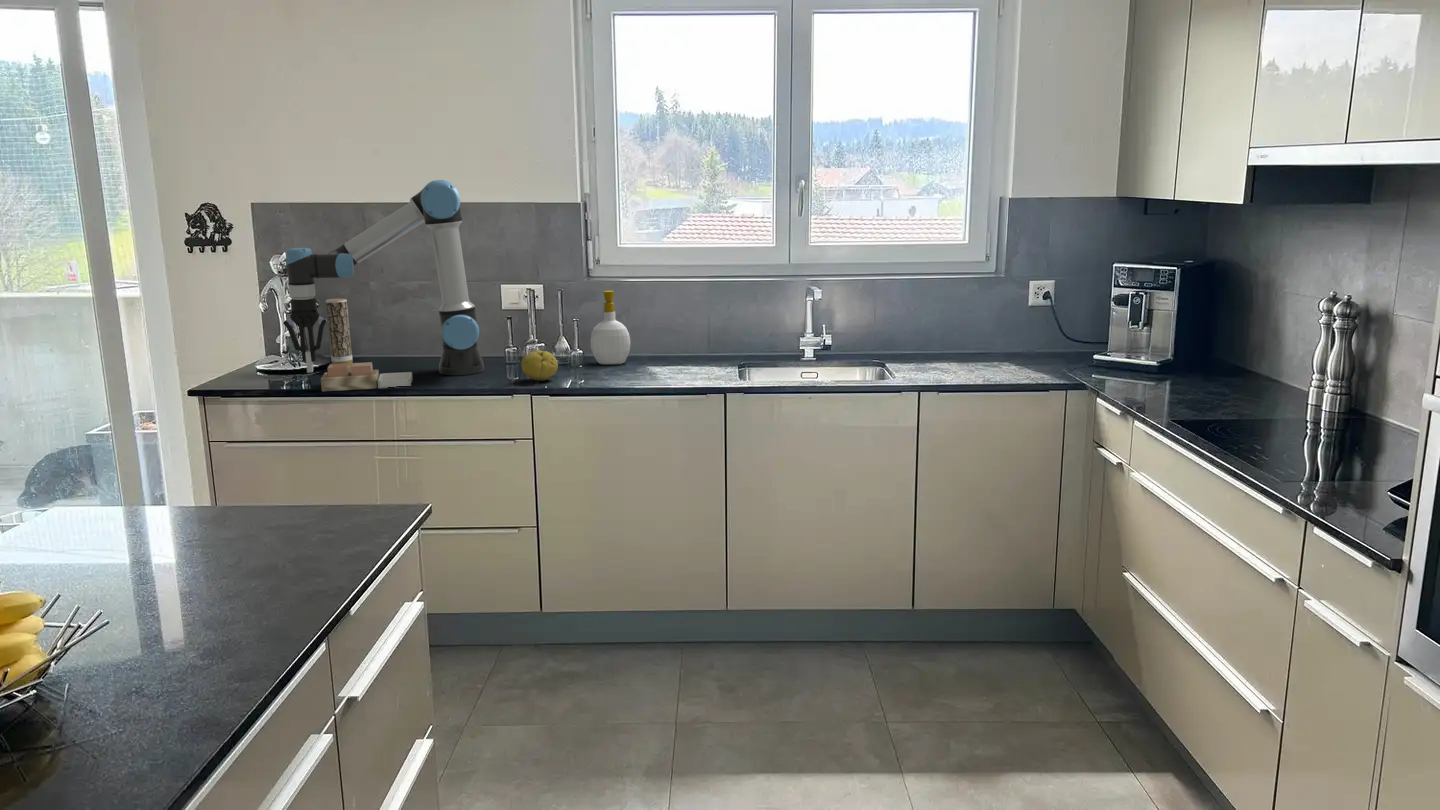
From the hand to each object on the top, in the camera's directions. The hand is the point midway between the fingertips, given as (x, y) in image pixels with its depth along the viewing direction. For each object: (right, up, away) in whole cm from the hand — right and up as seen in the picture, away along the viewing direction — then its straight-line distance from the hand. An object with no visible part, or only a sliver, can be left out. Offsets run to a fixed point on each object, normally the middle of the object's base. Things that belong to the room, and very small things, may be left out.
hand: (310, 371), depth 320 cm
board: (+12, -5, +4) cm, 13 cm away
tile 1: (+8, -1, +2) cm, 9 cm away
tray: (+25, -4, +7) cm, 26 cm away
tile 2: (+15, 0, +4) cm, 16 cm away
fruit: (+72, -3, +10) cm, 72 cm away
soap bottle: (+92, +4, +38) cm, 100 cm away
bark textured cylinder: (0, +1, +28) cm, 28 cm away
